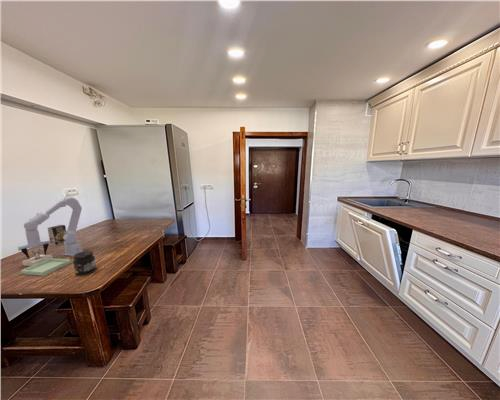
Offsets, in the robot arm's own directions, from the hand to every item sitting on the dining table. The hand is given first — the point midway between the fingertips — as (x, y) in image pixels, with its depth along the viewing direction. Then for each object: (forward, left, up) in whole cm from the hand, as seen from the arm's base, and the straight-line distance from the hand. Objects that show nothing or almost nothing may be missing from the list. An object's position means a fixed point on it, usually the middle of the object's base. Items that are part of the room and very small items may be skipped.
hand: (37, 256), depth 129 cm
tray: (-16, +6, -4) cm, 18 cm away
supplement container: (-45, +6, -5) cm, 46 cm away
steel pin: (0, 0, -4) cm, 4 cm away
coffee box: (+21, -29, -5) cm, 36 cm away
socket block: (0, 0, -4) cm, 4 cm away
